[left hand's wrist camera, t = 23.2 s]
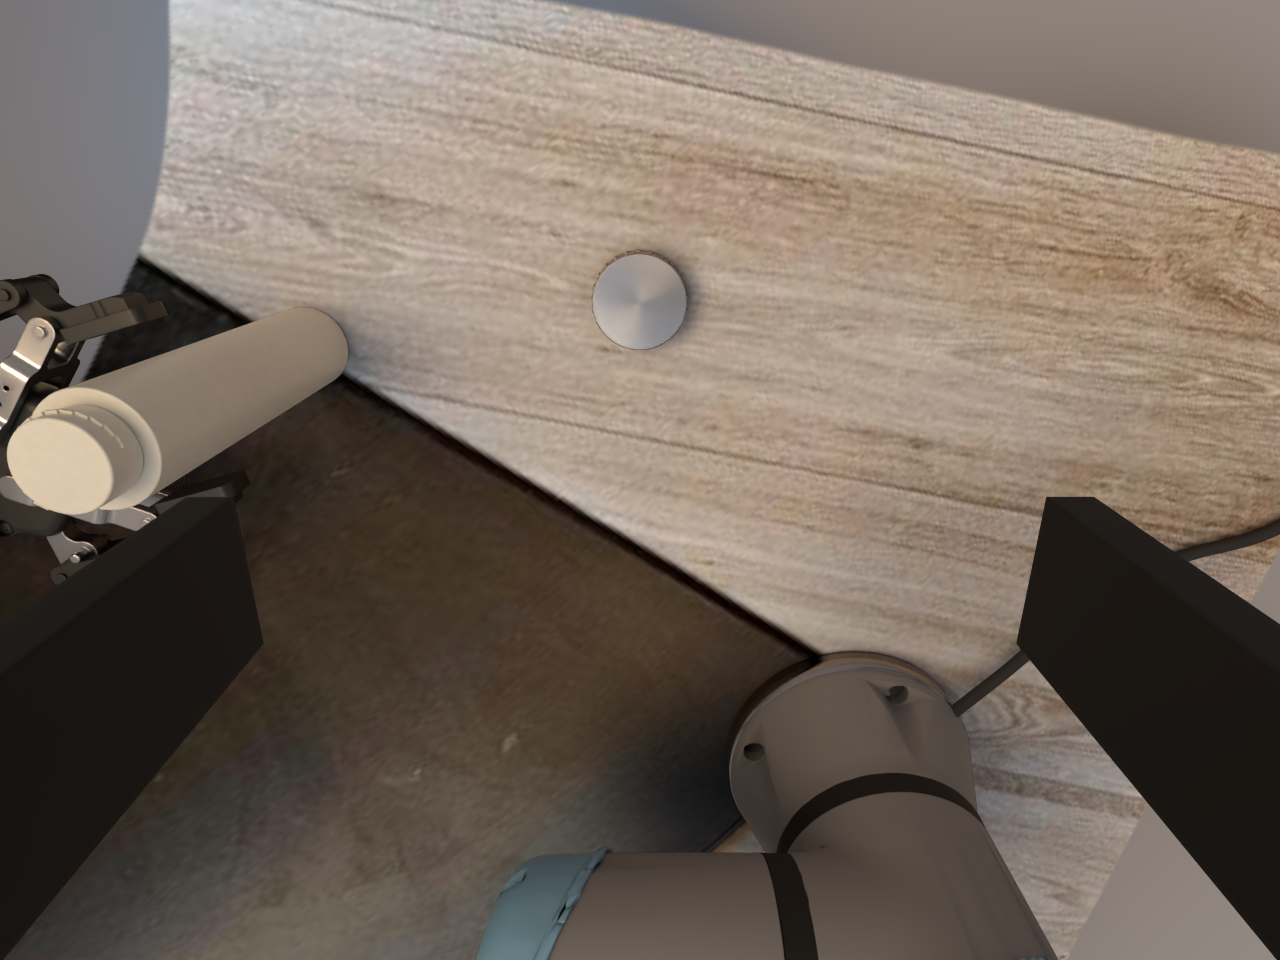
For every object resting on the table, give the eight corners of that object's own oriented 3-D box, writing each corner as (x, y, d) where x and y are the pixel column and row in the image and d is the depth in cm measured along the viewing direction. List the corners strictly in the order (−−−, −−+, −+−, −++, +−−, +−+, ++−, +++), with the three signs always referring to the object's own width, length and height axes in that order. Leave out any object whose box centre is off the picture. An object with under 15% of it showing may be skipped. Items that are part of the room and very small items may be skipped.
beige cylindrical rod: (293, 290, 40) (19, 372, 22) (363, 340, 41) (153, 456, 23) (254, 353, 41) (-35, 479, 24) (323, 400, 42) (95, 555, 25)
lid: (635, 363, 41) (634, 371, 40) (573, 293, 40) (570, 298, 38) (705, 302, 40) (708, 308, 39) (644, 228, 39) (644, 230, 37)
